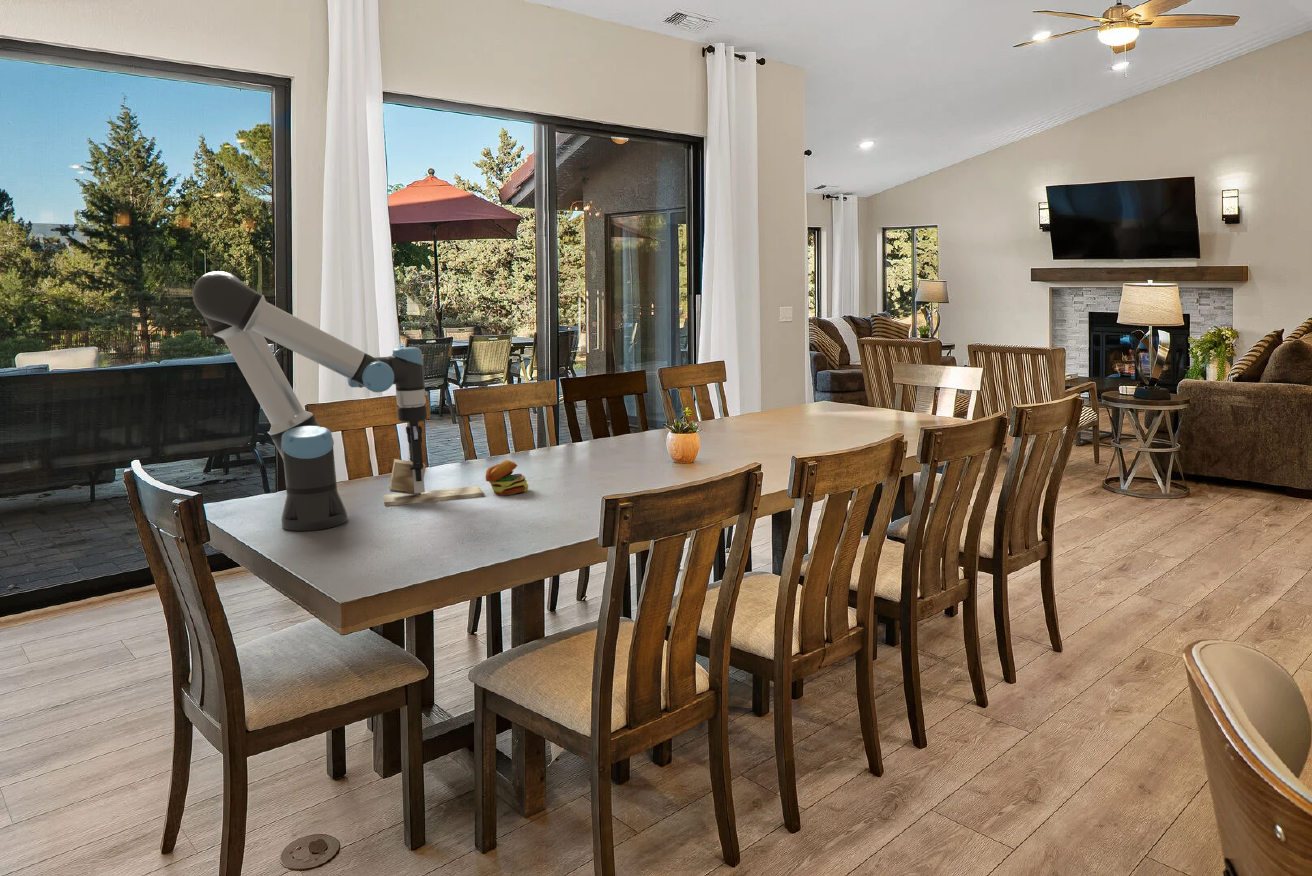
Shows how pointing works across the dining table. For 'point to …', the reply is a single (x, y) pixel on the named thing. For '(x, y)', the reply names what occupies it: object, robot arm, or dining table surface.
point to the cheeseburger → (506, 479)
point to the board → (433, 495)
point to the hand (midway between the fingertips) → (418, 490)
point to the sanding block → (403, 477)
